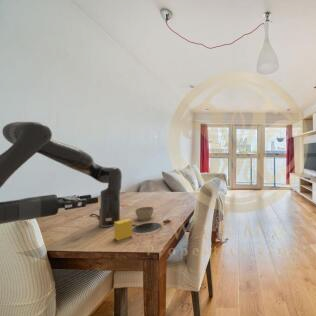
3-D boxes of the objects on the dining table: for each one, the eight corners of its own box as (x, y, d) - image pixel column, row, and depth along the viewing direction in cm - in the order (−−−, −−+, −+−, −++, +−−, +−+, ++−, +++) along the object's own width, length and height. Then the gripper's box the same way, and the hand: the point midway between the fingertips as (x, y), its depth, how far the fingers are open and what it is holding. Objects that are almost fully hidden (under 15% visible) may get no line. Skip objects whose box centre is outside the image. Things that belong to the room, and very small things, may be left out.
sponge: (114, 240, 85) (114, 221, 85) (128, 236, 90) (128, 218, 89) (118, 243, 82) (118, 224, 82) (132, 238, 87) (132, 220, 87)
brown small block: (163, 224, 106) (163, 220, 106) (167, 222, 108) (167, 219, 108) (165, 225, 104) (166, 221, 104) (170, 223, 106) (170, 220, 106)
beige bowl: (146, 223, 106) (146, 211, 106) (131, 222, 108) (131, 210, 108) (156, 218, 116) (156, 207, 116) (143, 217, 118) (143, 206, 118)
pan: (115, 231, 95) (115, 228, 95) (137, 222, 108) (137, 219, 108) (148, 236, 89) (148, 233, 89) (166, 226, 103) (166, 223, 103)
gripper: (41, 199, 59) (100, 191, 72) (34, 193, 68) (88, 187, 81) (41, 222, 59) (100, 210, 73) (34, 213, 68) (89, 204, 81)
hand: (94, 198), depth 77 cm, fingers open, 8 cm apart
